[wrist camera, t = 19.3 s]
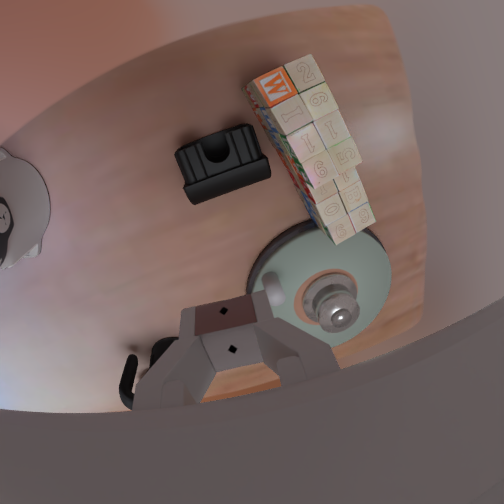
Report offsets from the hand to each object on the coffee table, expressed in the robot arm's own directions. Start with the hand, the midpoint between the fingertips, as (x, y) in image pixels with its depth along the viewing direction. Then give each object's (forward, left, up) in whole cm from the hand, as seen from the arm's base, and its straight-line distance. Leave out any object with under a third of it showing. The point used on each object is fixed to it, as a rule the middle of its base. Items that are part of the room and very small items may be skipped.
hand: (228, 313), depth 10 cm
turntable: (+12, -24, -29) cm, 40 cm away
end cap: (+1, 0, -31) cm, 31 cm away
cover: (+12, -24, -28) cm, 39 cm away
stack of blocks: (+11, 0, -32) cm, 34 cm away
